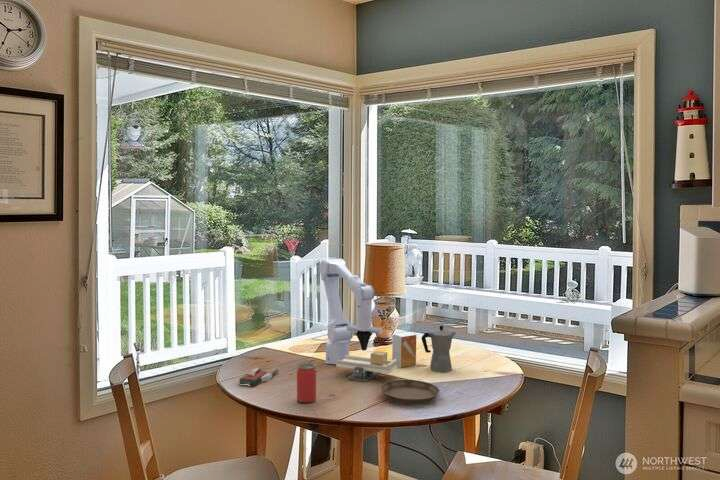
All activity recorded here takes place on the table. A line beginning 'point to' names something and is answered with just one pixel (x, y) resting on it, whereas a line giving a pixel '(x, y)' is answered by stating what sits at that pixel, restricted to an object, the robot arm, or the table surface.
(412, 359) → the small box
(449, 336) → the coffeepot
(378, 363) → the brass block
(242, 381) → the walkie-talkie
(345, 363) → the beam
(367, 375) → the pivot stand
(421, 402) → the plant saucer
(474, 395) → the table surface
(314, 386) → the beer can
